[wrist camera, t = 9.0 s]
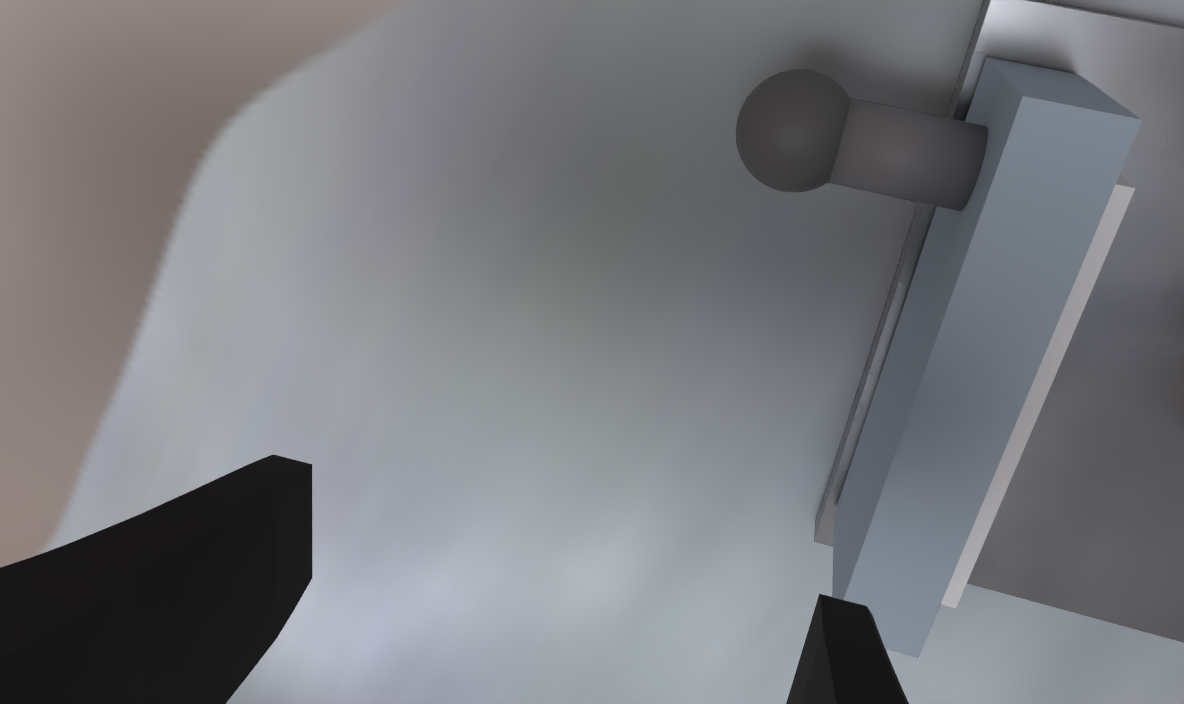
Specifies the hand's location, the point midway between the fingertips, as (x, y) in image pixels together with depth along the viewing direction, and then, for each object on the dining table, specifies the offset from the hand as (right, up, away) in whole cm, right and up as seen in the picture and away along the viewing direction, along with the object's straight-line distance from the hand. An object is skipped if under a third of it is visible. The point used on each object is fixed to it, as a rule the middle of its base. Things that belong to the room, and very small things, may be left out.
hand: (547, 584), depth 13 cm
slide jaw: (+6, +4, +6) cm, 10 cm away
